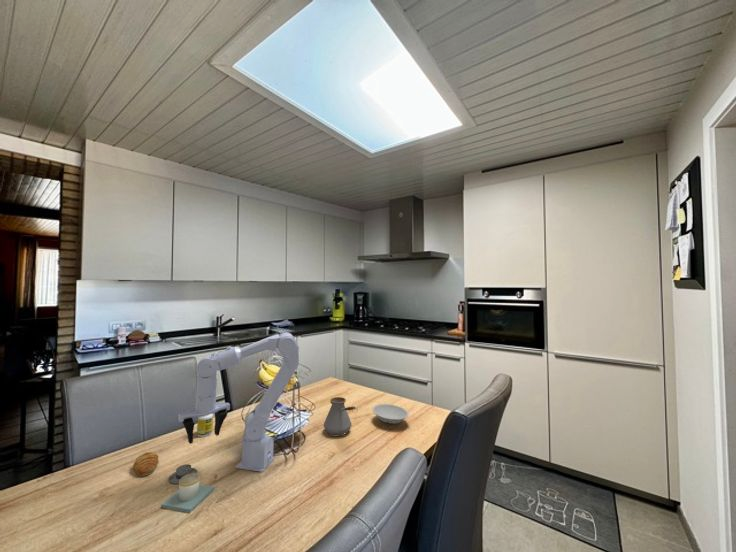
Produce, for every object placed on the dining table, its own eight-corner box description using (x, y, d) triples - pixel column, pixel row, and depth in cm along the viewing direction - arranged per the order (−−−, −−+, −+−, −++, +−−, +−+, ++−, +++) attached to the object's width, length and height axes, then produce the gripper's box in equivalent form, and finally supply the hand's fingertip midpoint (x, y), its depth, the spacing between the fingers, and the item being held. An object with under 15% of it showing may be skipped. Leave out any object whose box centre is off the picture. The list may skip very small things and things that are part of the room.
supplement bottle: (205, 438, 116) (206, 412, 117) (193, 436, 118) (194, 411, 118) (215, 431, 122) (216, 407, 122) (203, 430, 123) (204, 405, 123)
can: (199, 497, 83) (200, 480, 83) (178, 503, 80) (179, 486, 80) (198, 486, 87) (198, 471, 87) (178, 493, 84) (178, 476, 84)
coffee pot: (319, 428, 126) (320, 392, 126) (344, 423, 131) (345, 388, 132) (340, 453, 107) (341, 410, 108) (368, 445, 113) (368, 405, 113)
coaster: (214, 490, 87) (214, 487, 87) (190, 512, 78) (190, 509, 78) (187, 485, 88) (187, 482, 88) (160, 507, 80) (160, 504, 80)
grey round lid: (203, 470, 96) (203, 462, 96) (184, 486, 88) (184, 477, 88) (182, 467, 97) (182, 459, 97) (162, 482, 90) (162, 473, 90)
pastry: (159, 473, 94) (160, 460, 95) (132, 481, 90) (133, 468, 90) (157, 459, 102) (158, 448, 102) (132, 467, 98) (132, 455, 98)
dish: (416, 425, 130) (416, 413, 130) (391, 434, 121) (391, 422, 122) (389, 412, 144) (389, 401, 144) (365, 419, 135) (365, 408, 136)
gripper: (225, 387, 104) (223, 427, 104) (176, 396, 94) (174, 441, 93) (233, 392, 99) (231, 434, 99) (182, 403, 89) (180, 450, 88)
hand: (203, 438), depth 96 cm, fingers open, 7 cm apart
